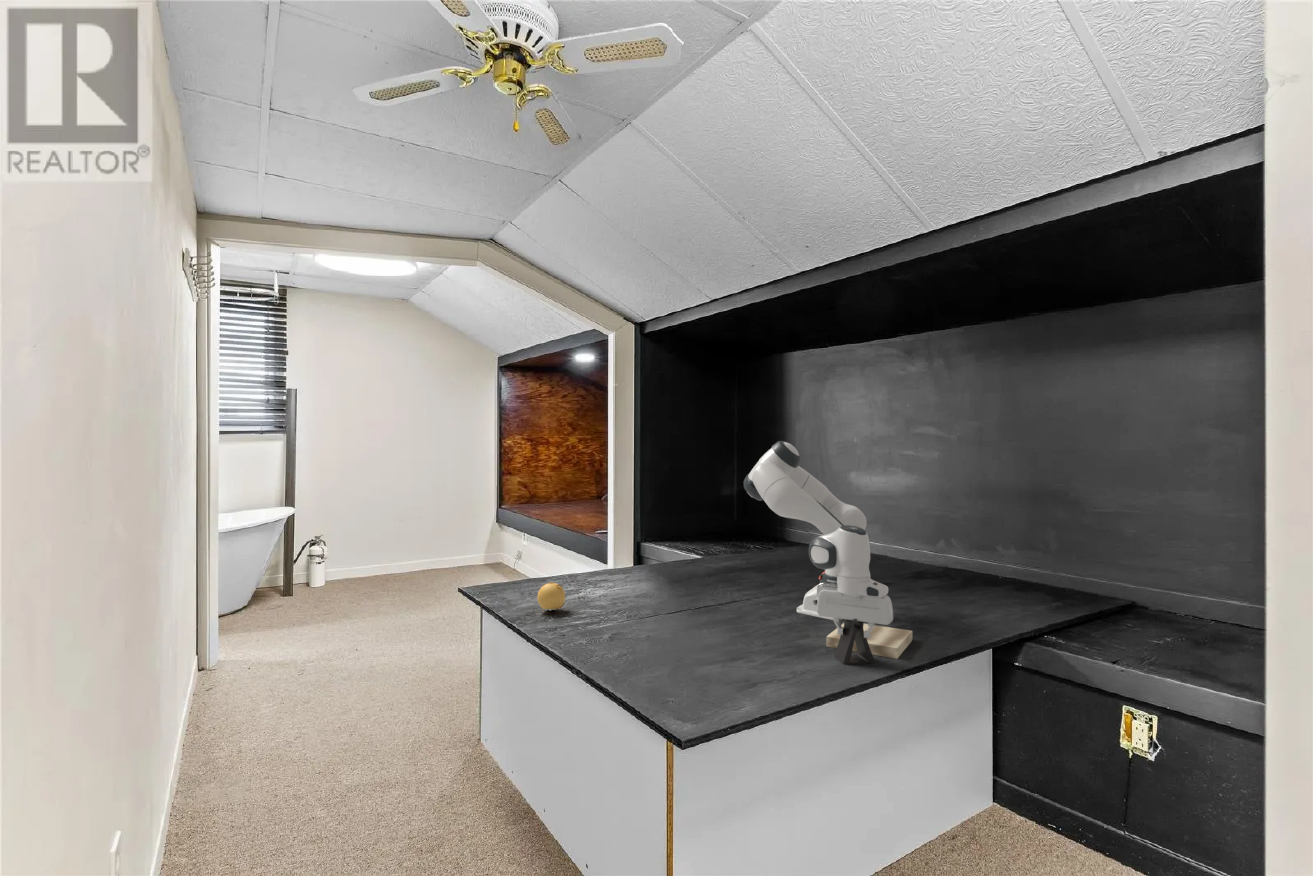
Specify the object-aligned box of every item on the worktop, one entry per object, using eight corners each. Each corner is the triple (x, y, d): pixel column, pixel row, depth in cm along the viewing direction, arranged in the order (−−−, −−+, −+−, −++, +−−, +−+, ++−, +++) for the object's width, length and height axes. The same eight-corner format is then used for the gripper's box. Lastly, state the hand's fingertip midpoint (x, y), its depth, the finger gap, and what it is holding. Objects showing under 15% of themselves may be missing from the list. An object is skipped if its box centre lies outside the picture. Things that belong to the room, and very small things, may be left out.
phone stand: (864, 655, 181) (863, 612, 182) (874, 662, 175) (873, 618, 176) (834, 657, 180) (833, 614, 180) (843, 664, 174) (842, 619, 174)
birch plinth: (826, 646, 190) (826, 636, 190) (846, 630, 207) (846, 620, 207) (897, 659, 179) (897, 648, 179) (912, 640, 196) (912, 630, 196)
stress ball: (562, 614, 225) (562, 585, 225) (534, 614, 225) (534, 585, 225) (567, 607, 235) (567, 579, 235) (540, 607, 235) (540, 579, 235)
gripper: (813, 583, 181) (813, 633, 180) (888, 592, 170) (889, 645, 169) (820, 579, 186) (820, 628, 186) (894, 587, 175) (894, 639, 175)
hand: (854, 636), depth 177 cm, fingers open, 6 cm apart
